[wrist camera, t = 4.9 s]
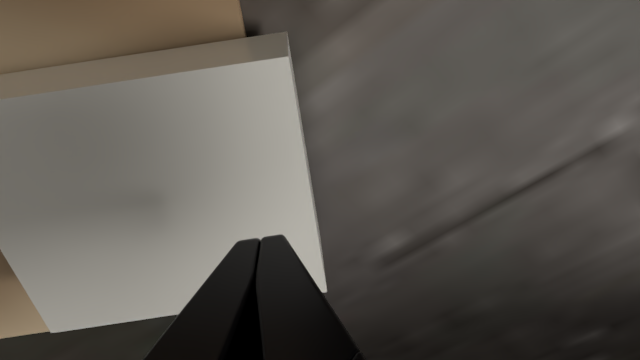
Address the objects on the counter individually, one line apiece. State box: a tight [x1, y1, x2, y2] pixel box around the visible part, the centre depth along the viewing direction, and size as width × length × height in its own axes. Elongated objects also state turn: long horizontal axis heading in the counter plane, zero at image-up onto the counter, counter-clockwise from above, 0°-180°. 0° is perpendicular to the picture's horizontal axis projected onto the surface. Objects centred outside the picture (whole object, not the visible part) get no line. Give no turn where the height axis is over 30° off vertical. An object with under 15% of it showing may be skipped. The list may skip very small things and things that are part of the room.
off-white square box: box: [0, 32, 327, 333], centre depth 11 cm, size 6×2×7 cm
